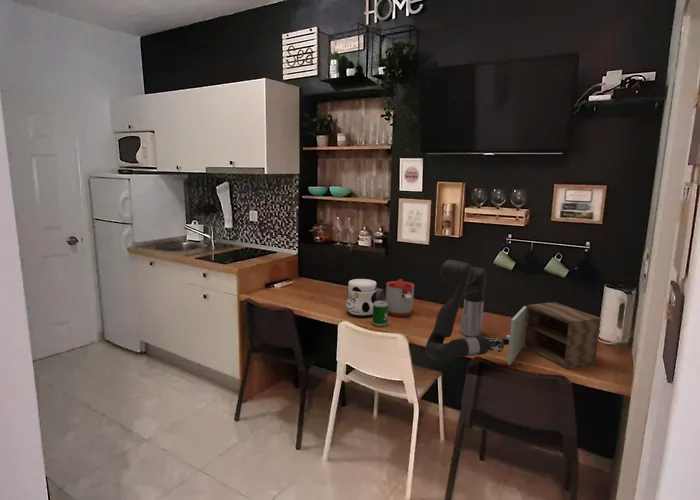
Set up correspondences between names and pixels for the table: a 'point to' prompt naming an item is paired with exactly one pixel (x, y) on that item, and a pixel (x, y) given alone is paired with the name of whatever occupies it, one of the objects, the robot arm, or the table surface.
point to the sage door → (516, 334)
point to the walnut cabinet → (561, 334)
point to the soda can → (380, 313)
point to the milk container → (361, 297)
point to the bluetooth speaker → (380, 294)
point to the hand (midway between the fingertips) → (507, 341)
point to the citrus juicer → (399, 297)
